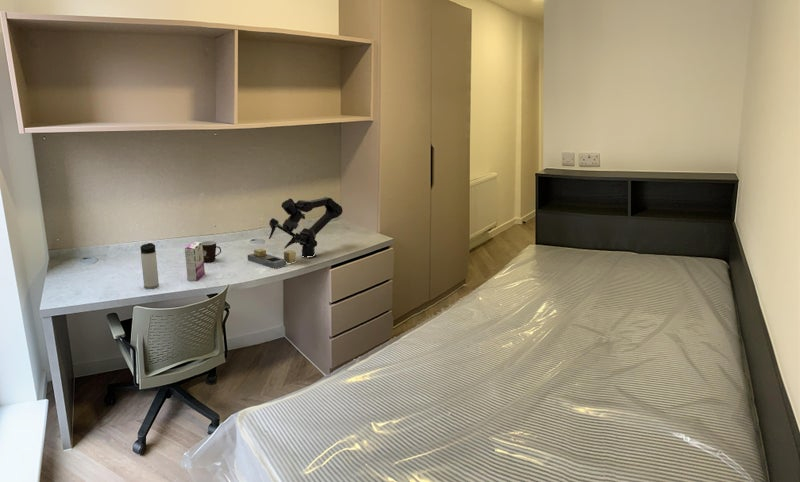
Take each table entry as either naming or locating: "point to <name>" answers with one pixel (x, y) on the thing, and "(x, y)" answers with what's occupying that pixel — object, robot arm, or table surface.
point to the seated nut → (259, 252)
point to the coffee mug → (209, 251)
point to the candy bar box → (194, 261)
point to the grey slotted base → (267, 260)
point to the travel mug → (149, 266)
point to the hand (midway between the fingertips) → (276, 243)
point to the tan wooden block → (290, 256)
